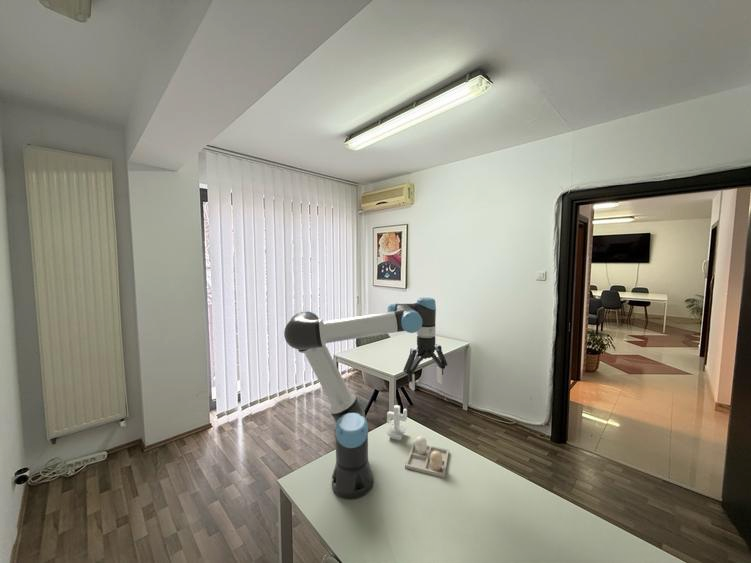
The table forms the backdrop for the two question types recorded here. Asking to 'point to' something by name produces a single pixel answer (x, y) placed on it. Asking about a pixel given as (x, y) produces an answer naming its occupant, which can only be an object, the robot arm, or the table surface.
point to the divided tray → (426, 460)
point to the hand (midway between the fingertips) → (425, 385)
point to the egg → (436, 461)
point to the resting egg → (420, 445)
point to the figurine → (396, 423)
